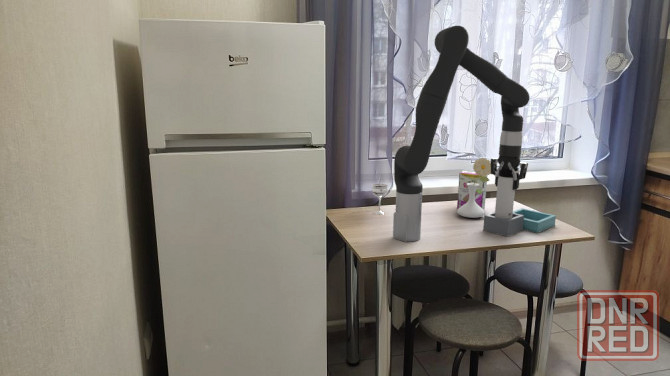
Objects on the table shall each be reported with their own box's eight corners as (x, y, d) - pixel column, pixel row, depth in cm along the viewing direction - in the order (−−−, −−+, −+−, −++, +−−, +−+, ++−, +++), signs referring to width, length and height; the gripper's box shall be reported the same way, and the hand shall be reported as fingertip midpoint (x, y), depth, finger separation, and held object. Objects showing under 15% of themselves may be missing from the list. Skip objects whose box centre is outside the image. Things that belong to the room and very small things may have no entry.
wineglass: (388, 215, 197) (388, 187, 194) (372, 214, 197) (372, 187, 195) (386, 210, 204) (387, 183, 201) (371, 210, 204) (371, 183, 201)
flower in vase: (455, 218, 192) (458, 158, 187) (458, 211, 203) (461, 154, 197) (488, 221, 188) (493, 160, 182) (489, 214, 198) (494, 156, 193)
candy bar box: (456, 208, 207) (458, 172, 203) (460, 206, 211) (462, 170, 207) (481, 212, 201) (484, 175, 197) (485, 209, 205) (487, 173, 202)
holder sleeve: (507, 236, 170) (508, 221, 169) (483, 230, 178) (484, 214, 176) (522, 230, 177) (524, 215, 176) (498, 224, 185) (500, 209, 183)
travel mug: (514, 222, 173) (519, 169, 168) (495, 221, 174) (500, 168, 169) (511, 217, 179) (516, 166, 174) (493, 216, 180) (498, 165, 175)
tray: (537, 232, 175) (538, 222, 174) (503, 224, 185) (504, 214, 184) (554, 225, 183) (555, 215, 182) (521, 217, 194) (522, 208, 193)
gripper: (487, 142, 173) (483, 186, 177) (524, 146, 162) (519, 193, 166) (498, 140, 178) (494, 183, 181) (534, 144, 167) (529, 190, 171)
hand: (506, 187), depth 174 cm, fingers closed on travel mug, 6 cm apart
